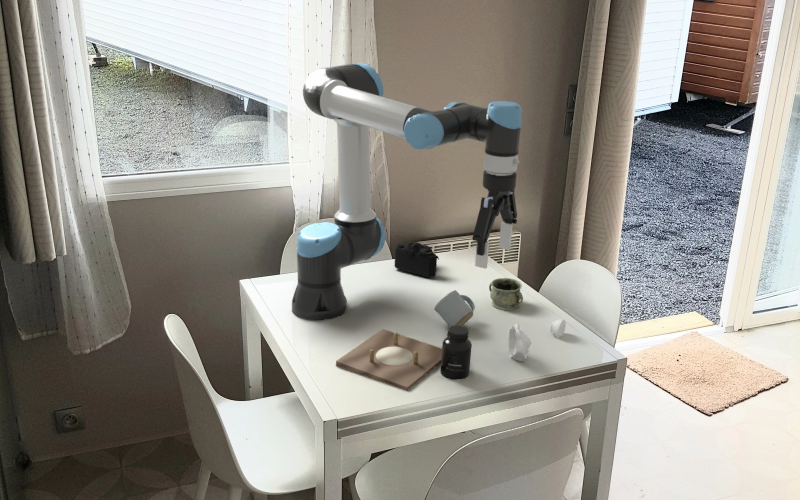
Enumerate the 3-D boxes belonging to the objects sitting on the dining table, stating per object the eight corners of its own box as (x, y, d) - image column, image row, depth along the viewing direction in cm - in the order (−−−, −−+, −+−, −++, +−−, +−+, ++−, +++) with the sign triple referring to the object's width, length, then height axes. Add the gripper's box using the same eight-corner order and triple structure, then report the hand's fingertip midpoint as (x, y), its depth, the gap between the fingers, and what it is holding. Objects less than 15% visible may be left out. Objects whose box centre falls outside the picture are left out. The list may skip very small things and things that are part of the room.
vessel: (531, 307, 218) (533, 286, 216) (511, 316, 213) (513, 295, 210) (498, 293, 226) (499, 273, 224) (478, 301, 220) (479, 281, 218)
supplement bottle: (449, 385, 179) (452, 339, 174) (435, 371, 184) (437, 326, 180) (475, 378, 182) (478, 333, 177) (459, 364, 187) (462, 320, 183)
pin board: (336, 366, 185) (336, 349, 183) (382, 334, 201) (383, 318, 199) (407, 393, 175) (407, 375, 174) (450, 356, 191) (451, 340, 189)
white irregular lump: (558, 341, 200) (560, 324, 198) (547, 338, 201) (549, 321, 199) (565, 334, 204) (567, 317, 202) (554, 331, 205) (556, 314, 203)
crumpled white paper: (533, 371, 186) (537, 335, 182) (515, 371, 185) (519, 335, 182) (524, 350, 195) (527, 315, 191) (506, 350, 195) (510, 315, 191)
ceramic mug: (452, 335, 204) (458, 323, 198) (431, 313, 207) (436, 300, 200) (480, 313, 209) (487, 300, 202) (459, 291, 211) (465, 278, 205)
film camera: (447, 269, 242) (449, 242, 238) (431, 279, 234) (432, 251, 231) (406, 257, 249) (407, 231, 246) (389, 267, 242) (390, 240, 238)
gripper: (492, 187, 165) (485, 279, 173) (535, 161, 185) (527, 244, 193) (460, 181, 168) (455, 271, 176) (506, 156, 188) (499, 238, 196)
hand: (493, 257), depth 185 cm, fingers open, 13 cm apart
